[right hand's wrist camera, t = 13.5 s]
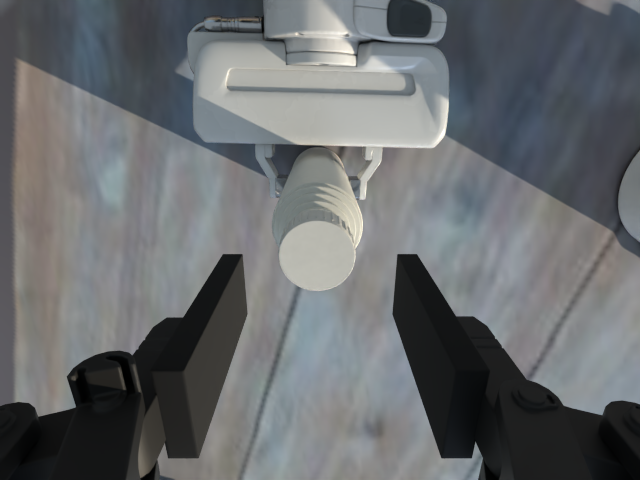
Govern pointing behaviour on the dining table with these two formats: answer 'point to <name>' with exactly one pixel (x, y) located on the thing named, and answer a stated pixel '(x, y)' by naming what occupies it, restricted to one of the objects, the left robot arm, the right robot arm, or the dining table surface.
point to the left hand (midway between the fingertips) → (318, 197)
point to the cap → (317, 250)
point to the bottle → (317, 192)
